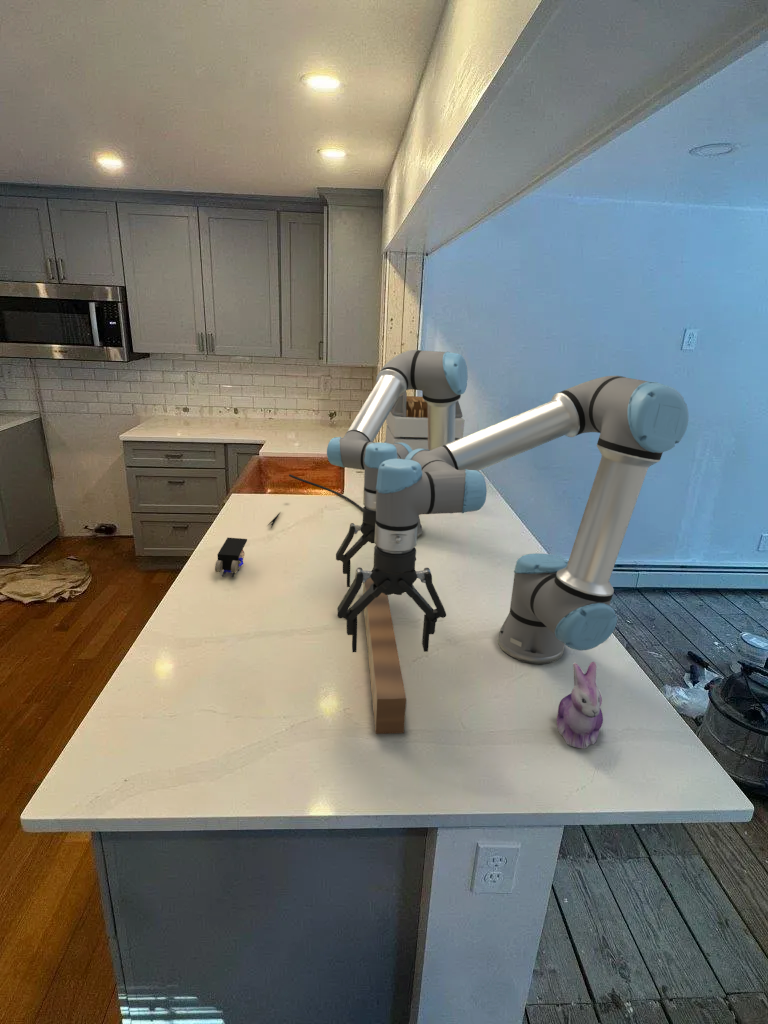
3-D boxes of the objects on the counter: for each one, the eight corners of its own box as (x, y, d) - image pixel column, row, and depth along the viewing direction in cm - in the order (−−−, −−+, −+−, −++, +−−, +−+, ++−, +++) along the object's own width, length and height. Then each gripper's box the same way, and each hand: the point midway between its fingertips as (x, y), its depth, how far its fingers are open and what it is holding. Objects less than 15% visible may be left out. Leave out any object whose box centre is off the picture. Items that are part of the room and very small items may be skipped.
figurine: (580, 758, 102) (595, 689, 97) (541, 722, 110) (552, 657, 105) (617, 742, 106) (633, 675, 101) (577, 709, 114) (589, 645, 109)
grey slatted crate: (382, 463, 289) (386, 382, 275) (445, 464, 293) (451, 384, 279) (390, 482, 257) (394, 392, 243) (460, 483, 261) (468, 394, 247)
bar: (362, 596, 156) (363, 570, 153) (381, 596, 156) (383, 570, 153) (375, 733, 106) (377, 699, 103) (403, 733, 106) (406, 698, 104)
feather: (287, 506, 225) (290, 502, 224) (270, 530, 198) (272, 526, 198) (283, 504, 225) (286, 500, 224) (265, 527, 198) (268, 523, 197)
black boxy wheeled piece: (238, 584, 162) (249, 557, 175) (236, 562, 158) (247, 536, 172) (215, 584, 161) (227, 556, 175) (212, 561, 158) (225, 535, 171)
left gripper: (327, 510, 134) (325, 591, 141) (431, 512, 136) (424, 591, 143) (327, 500, 141) (326, 578, 148) (426, 503, 144) (420, 578, 150)
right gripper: (324, 554, 97) (323, 660, 104) (468, 555, 99) (457, 658, 106) (325, 537, 104) (324, 637, 111) (459, 538, 106) (450, 636, 113)
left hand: (374, 585), depth 146 cm, fingers open, 13 cm apart
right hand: (389, 648), depth 108 cm, fingers open, 13 cm apart
